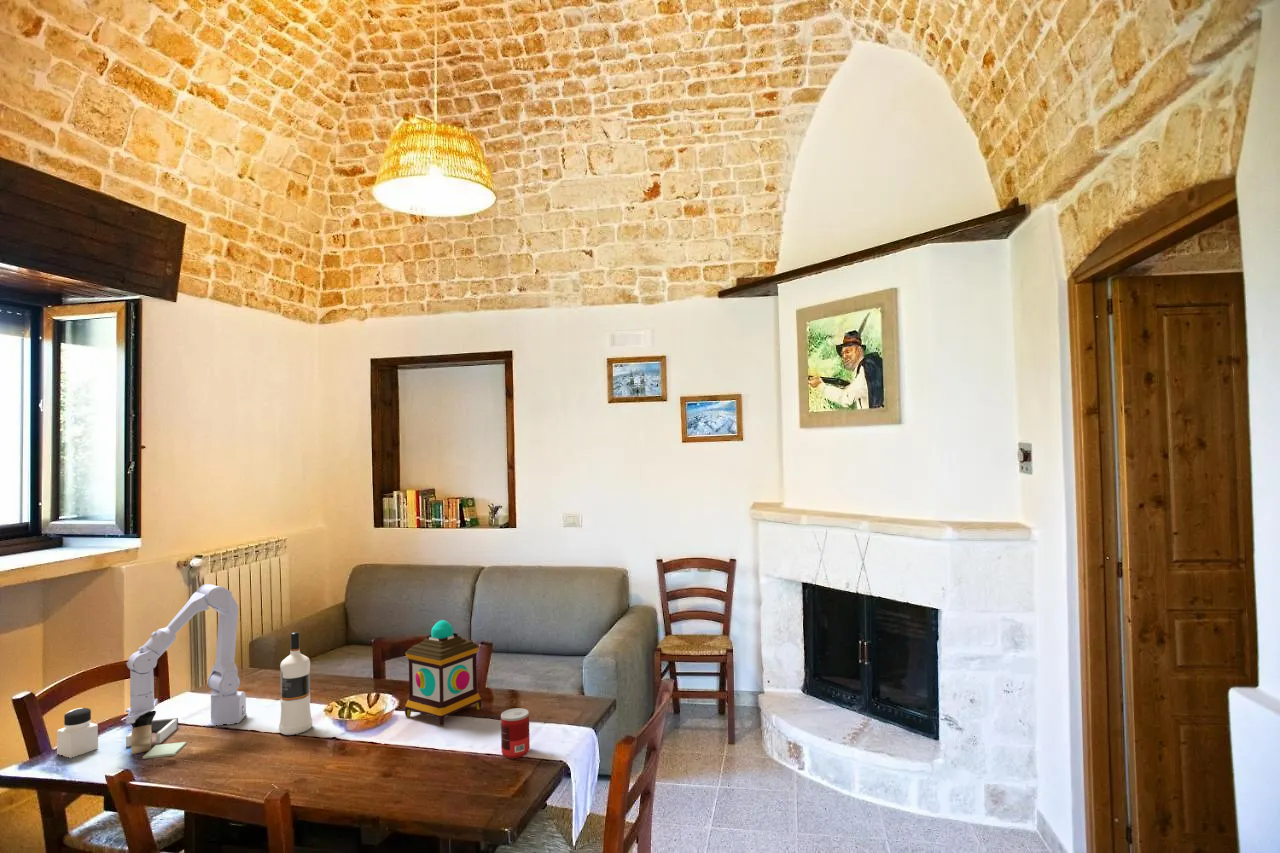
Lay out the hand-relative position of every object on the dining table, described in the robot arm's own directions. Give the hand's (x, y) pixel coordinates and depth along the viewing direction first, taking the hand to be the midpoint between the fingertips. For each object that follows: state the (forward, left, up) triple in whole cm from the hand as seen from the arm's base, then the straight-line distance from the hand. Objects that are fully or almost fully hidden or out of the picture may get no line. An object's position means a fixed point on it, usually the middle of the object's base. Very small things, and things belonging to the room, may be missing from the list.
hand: (142, 738), depth 207 cm
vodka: (-42, 0, -2) cm, 42 cm away
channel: (0, -6, -2) cm, 6 cm away
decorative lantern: (-86, -2, -2) cm, 86 cm away
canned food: (-108, +34, -2) cm, 113 cm away
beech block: (-1, +3, -1) cm, 3 cm away
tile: (-8, +6, -2) cm, 11 cm away
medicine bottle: (+17, 0, -2) cm, 17 cm away
